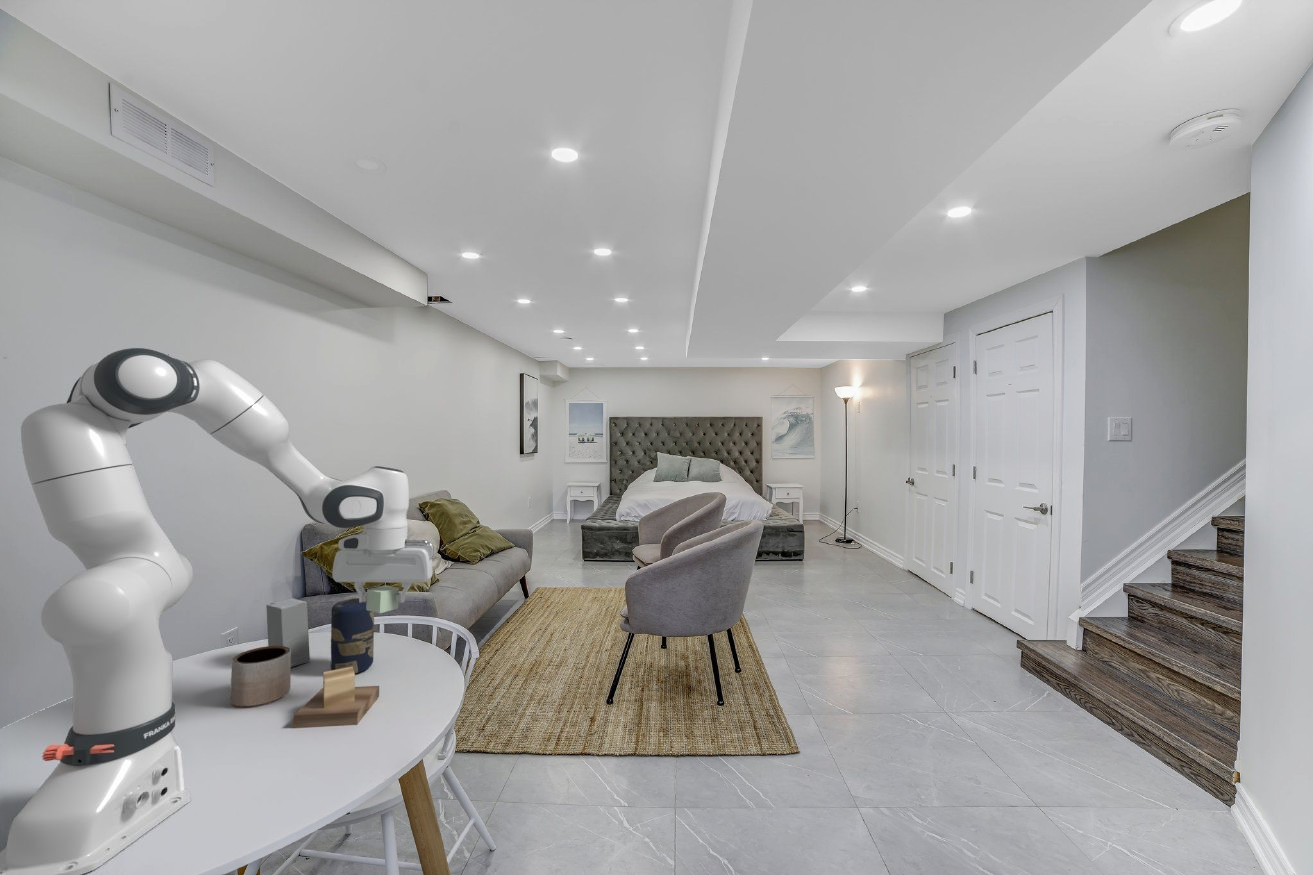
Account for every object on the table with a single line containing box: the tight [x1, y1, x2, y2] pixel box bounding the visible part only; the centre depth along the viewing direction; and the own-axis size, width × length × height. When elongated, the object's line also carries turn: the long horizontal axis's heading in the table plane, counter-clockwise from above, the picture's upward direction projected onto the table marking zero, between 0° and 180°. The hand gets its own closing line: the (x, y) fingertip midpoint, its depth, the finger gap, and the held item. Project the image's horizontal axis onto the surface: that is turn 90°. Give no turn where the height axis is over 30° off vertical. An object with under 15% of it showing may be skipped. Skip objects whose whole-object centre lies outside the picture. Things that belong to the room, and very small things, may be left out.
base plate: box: [293, 685, 380, 729], centre depth 115 cm, size 12×12×2 cm
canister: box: [330, 597, 375, 674], centre depth 136 cm, size 10×10×18 cm
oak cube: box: [322, 667, 356, 708], centre depth 115 cm, size 6×6×6 cm
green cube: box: [366, 585, 400, 614], centre depth 119 cm, size 4×4×4 cm
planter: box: [229, 645, 292, 708], centre depth 121 cm, size 11×11×10 cm
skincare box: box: [265, 597, 311, 668], centre depth 139 cm, size 8×7×16 cm
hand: (382, 601), depth 119 cm, fingers closed on green cube, 6 cm apart
